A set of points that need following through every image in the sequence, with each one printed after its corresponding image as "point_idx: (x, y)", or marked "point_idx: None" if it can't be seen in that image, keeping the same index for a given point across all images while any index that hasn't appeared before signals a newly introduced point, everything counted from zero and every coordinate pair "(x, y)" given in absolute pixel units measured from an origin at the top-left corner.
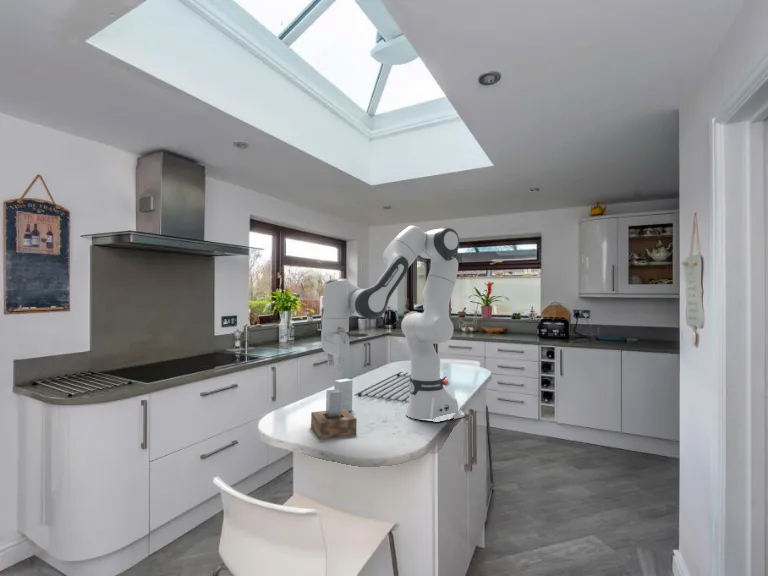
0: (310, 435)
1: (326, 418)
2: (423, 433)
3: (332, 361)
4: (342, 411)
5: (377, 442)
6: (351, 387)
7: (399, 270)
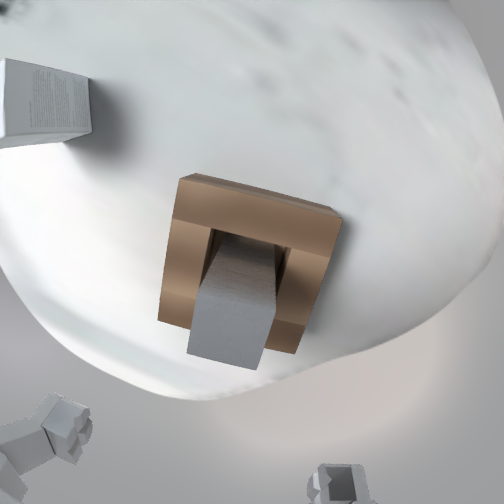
0: None
1: None
2: (443, 32)
3: (72, 441)
4: (212, 212)
5: (425, 196)
6: (29, 68)
7: None
